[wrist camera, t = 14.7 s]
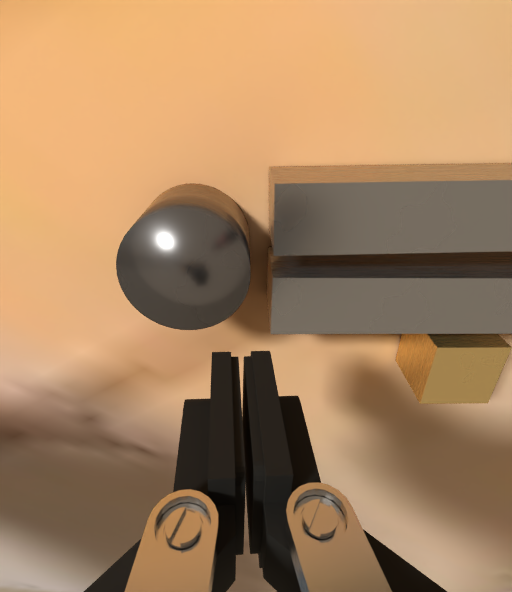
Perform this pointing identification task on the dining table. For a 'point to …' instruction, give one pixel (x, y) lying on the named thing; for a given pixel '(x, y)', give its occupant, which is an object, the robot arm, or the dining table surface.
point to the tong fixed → (301, 278)
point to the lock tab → (452, 366)
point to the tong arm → (390, 209)
